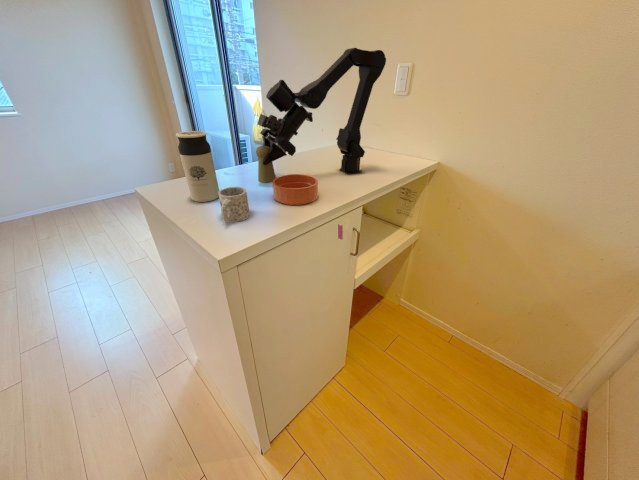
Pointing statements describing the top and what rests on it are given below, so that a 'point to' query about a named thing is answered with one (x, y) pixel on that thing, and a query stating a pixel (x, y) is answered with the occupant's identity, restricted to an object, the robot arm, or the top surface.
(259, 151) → the cork
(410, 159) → the top surface
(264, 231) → the top surface
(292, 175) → the orange brown bowl
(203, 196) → the travel mug
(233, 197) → the mug
